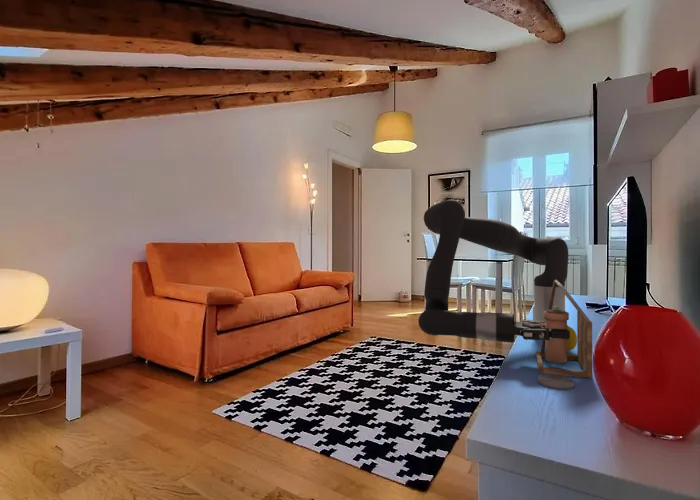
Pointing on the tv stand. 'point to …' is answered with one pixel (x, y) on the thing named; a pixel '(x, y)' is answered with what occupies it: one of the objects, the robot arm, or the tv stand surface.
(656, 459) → the tv stand surface
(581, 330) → the cold frame
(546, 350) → the pot
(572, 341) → the lemon
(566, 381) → the grey-brown flat disc
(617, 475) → the tv stand surface
